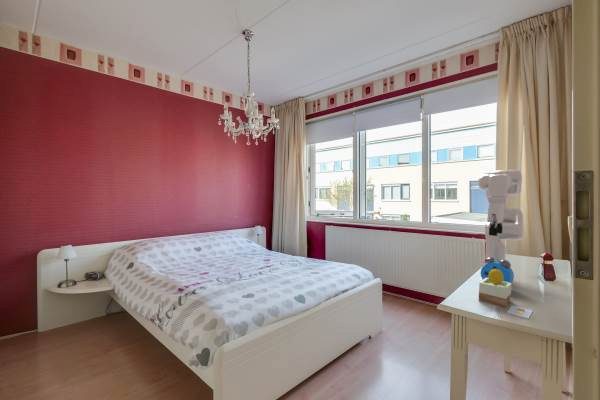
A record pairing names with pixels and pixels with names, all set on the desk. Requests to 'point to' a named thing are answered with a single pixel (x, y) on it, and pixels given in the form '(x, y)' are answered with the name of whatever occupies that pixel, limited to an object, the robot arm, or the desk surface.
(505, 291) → the top brick
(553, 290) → the desk surface
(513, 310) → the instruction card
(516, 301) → the desk surface
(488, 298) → the base brick
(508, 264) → the alarm clock
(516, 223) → the robot arm
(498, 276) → the lemon
